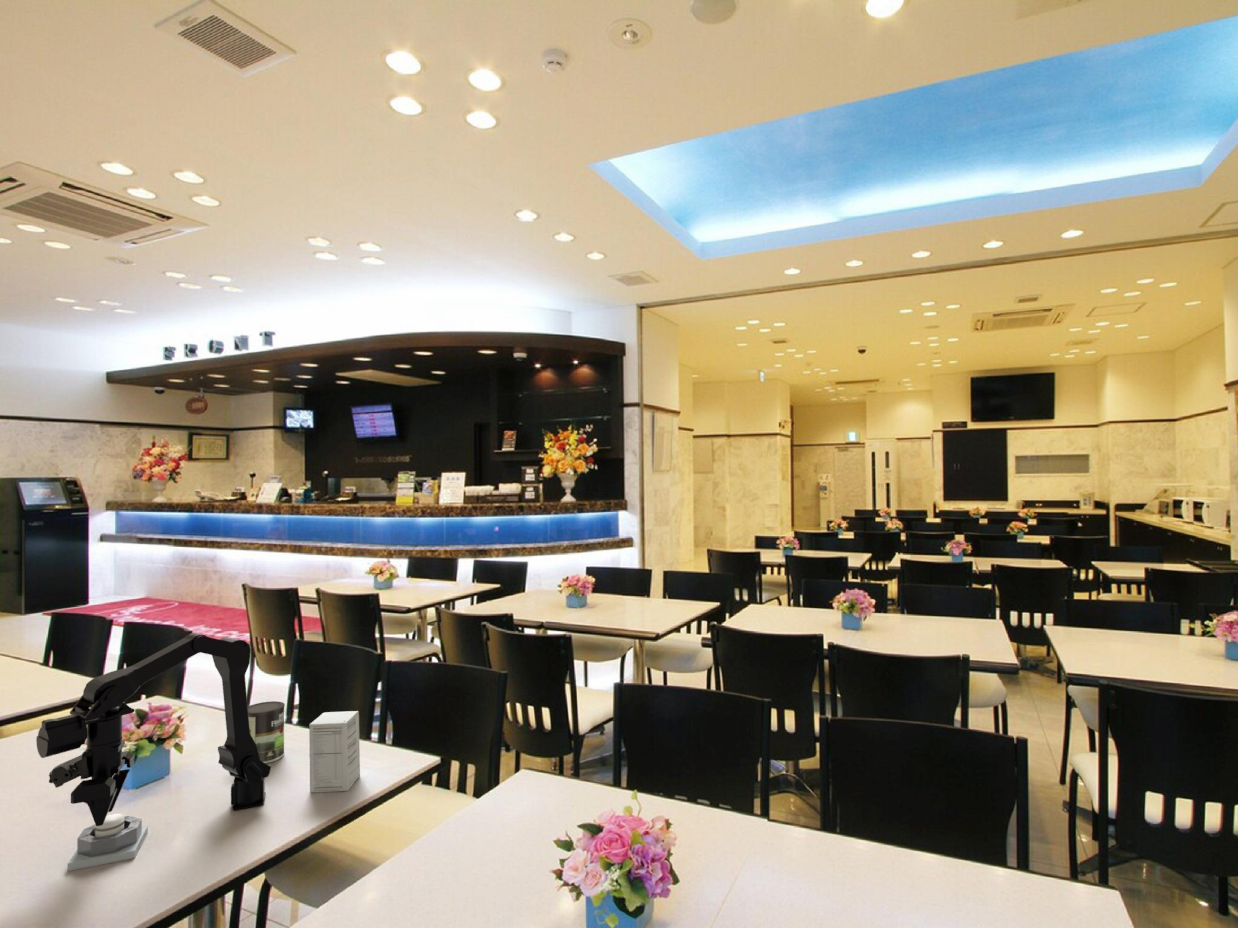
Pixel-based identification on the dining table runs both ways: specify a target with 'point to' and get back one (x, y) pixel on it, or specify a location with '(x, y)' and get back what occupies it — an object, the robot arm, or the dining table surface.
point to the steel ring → (109, 839)
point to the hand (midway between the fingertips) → (104, 818)
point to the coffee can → (267, 729)
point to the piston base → (111, 827)
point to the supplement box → (334, 751)
